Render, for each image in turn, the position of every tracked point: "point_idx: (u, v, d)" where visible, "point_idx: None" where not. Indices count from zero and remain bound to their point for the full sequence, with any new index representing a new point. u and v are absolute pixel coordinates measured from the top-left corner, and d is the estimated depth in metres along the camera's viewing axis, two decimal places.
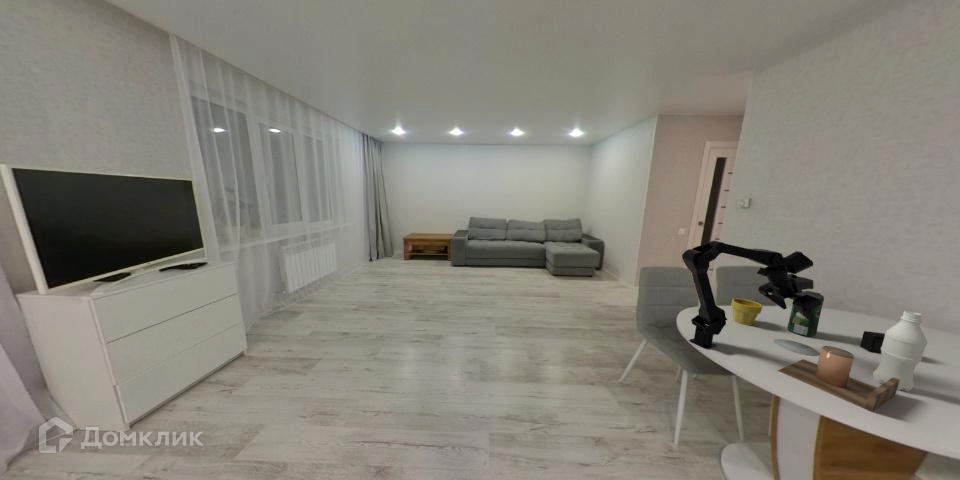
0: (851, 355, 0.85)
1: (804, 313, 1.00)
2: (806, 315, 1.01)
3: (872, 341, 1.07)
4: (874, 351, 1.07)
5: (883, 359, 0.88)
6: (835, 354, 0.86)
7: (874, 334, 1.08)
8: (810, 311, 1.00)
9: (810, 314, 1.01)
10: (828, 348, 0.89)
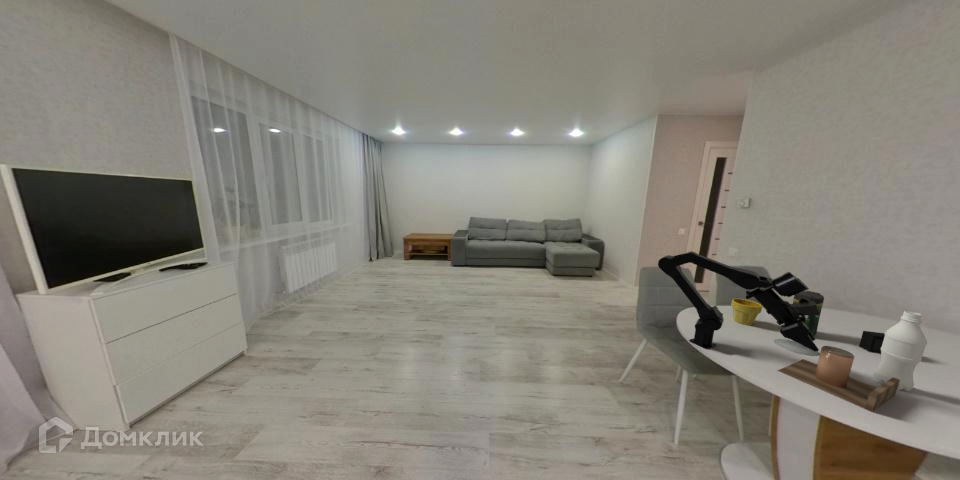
0: (851, 355, 0.85)
1: (800, 342, 0.89)
2: (806, 345, 0.88)
3: (872, 341, 1.07)
4: (873, 351, 1.07)
5: (883, 359, 0.88)
6: (835, 354, 0.86)
7: (873, 334, 1.08)
8: (808, 340, 0.88)
9: (812, 344, 0.87)
10: (828, 348, 0.89)
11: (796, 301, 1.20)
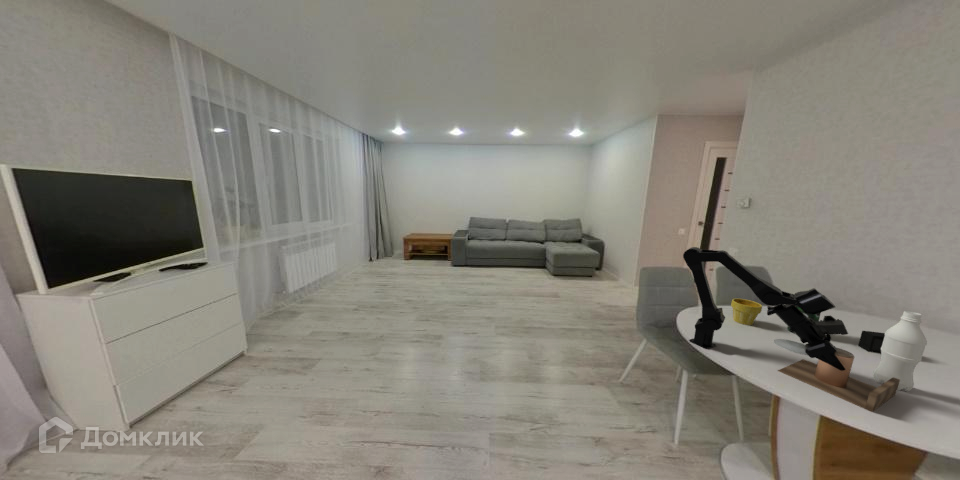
0: (851, 355, 0.85)
1: (825, 360, 0.86)
2: (832, 364, 0.86)
3: (871, 341, 1.08)
4: (873, 351, 1.08)
5: (883, 359, 0.88)
6: (835, 354, 0.86)
7: (872, 334, 1.08)
8: (835, 359, 0.85)
9: (838, 364, 0.85)
10: None
11: None
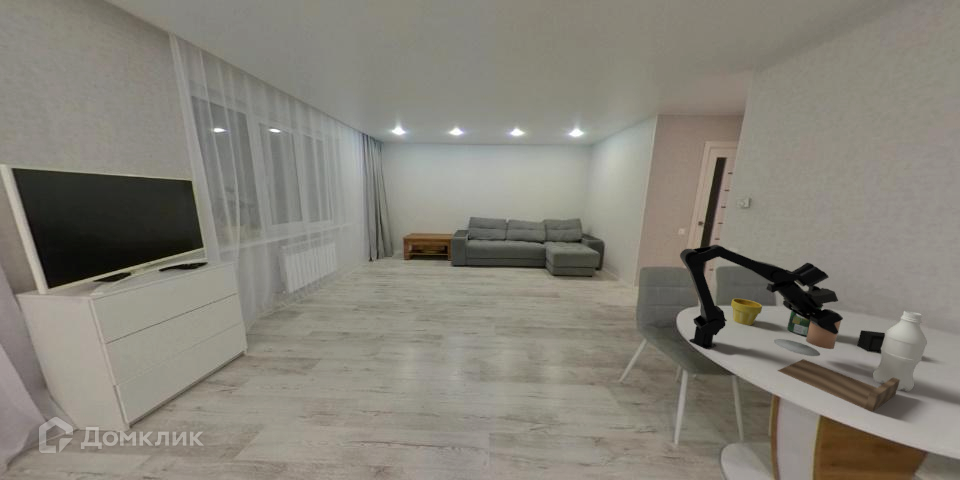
0: None
1: (825, 327, 0.94)
2: (829, 329, 0.94)
3: (870, 341, 1.08)
4: (872, 350, 1.08)
5: (883, 359, 0.88)
6: None
7: (871, 333, 1.08)
8: (832, 325, 0.93)
9: (834, 328, 0.94)
10: None
11: None
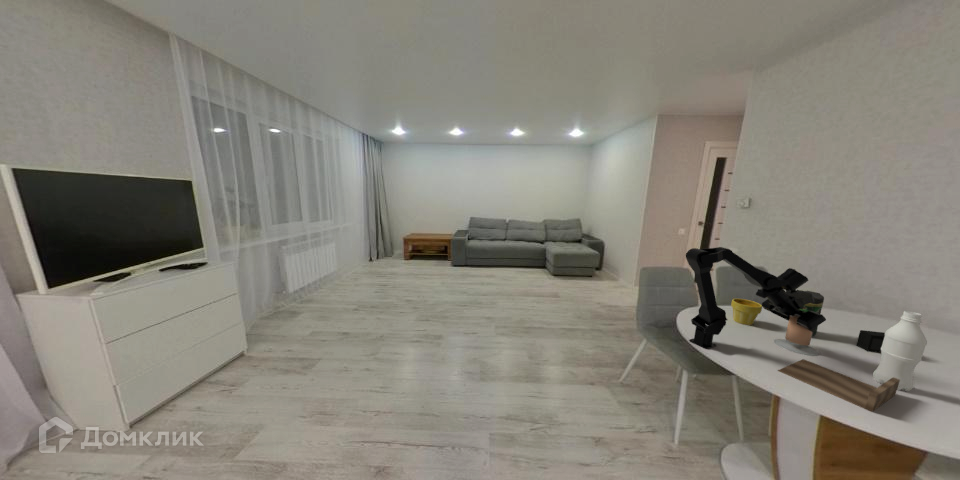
0: None
1: (807, 327, 1.02)
2: (809, 328, 1.03)
3: (869, 341, 1.08)
4: (871, 350, 1.08)
5: (883, 359, 0.88)
6: None
7: (871, 333, 1.08)
8: None
9: None
10: None
11: None
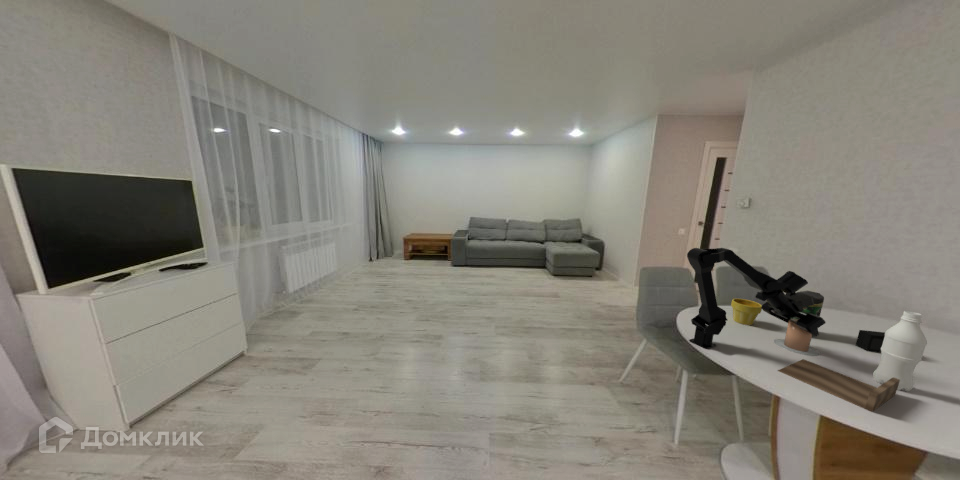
0: None
1: (810, 331, 1.01)
2: (813, 333, 1.02)
3: (869, 341, 1.08)
4: (871, 350, 1.08)
5: (883, 359, 0.88)
6: None
7: (870, 333, 1.08)
8: (816, 328, 1.01)
9: (816, 331, 1.02)
10: (795, 321, 1.07)
11: None
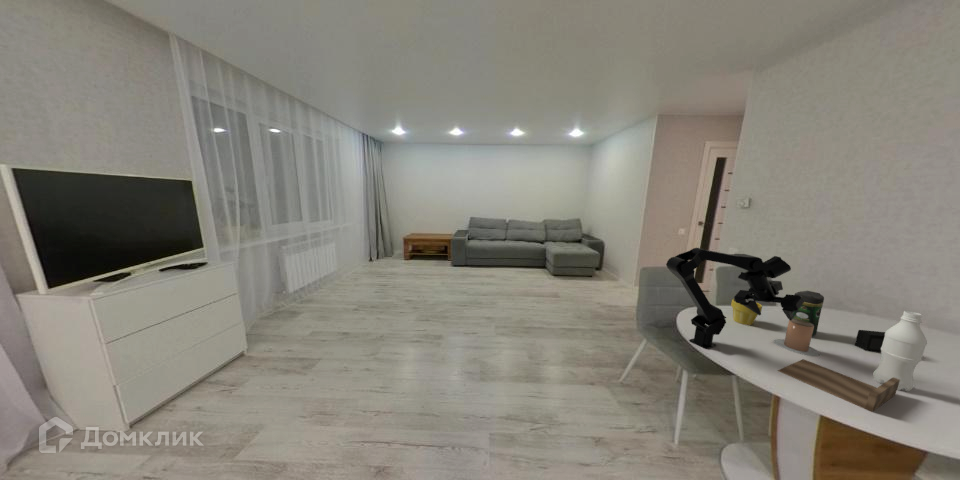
0: (811, 323, 1.06)
1: (790, 313, 1.02)
2: (790, 315, 1.03)
3: (868, 340, 1.08)
4: (870, 350, 1.08)
5: (883, 359, 0.88)
6: (807, 326, 1.04)
7: (869, 333, 1.09)
8: (792, 311, 1.03)
9: (792, 314, 1.03)
10: (795, 321, 1.07)
11: None
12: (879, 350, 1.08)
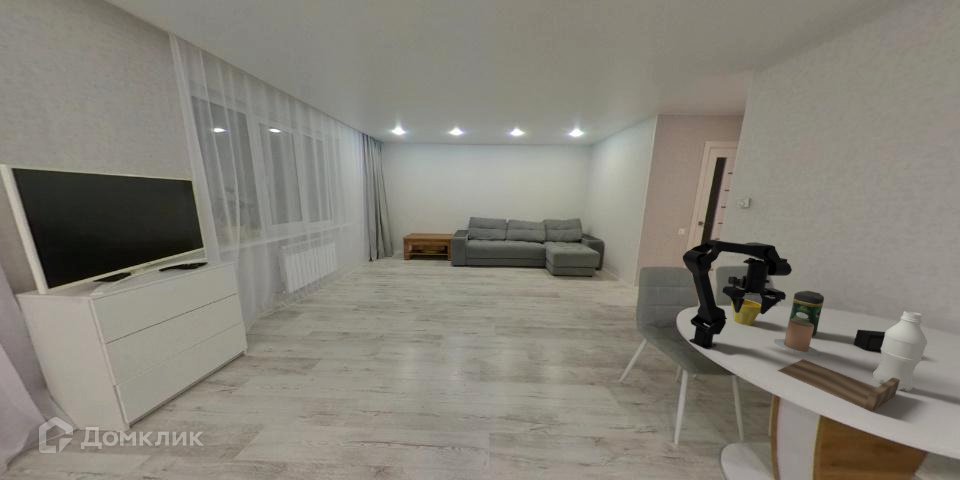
0: (811, 323, 1.06)
1: None
2: None
3: (867, 340, 1.08)
4: (869, 349, 1.08)
5: (883, 359, 0.88)
6: (807, 326, 1.04)
7: (868, 332, 1.09)
8: None
9: None
10: (795, 321, 1.07)
11: (796, 301, 1.20)
12: (878, 350, 1.08)
